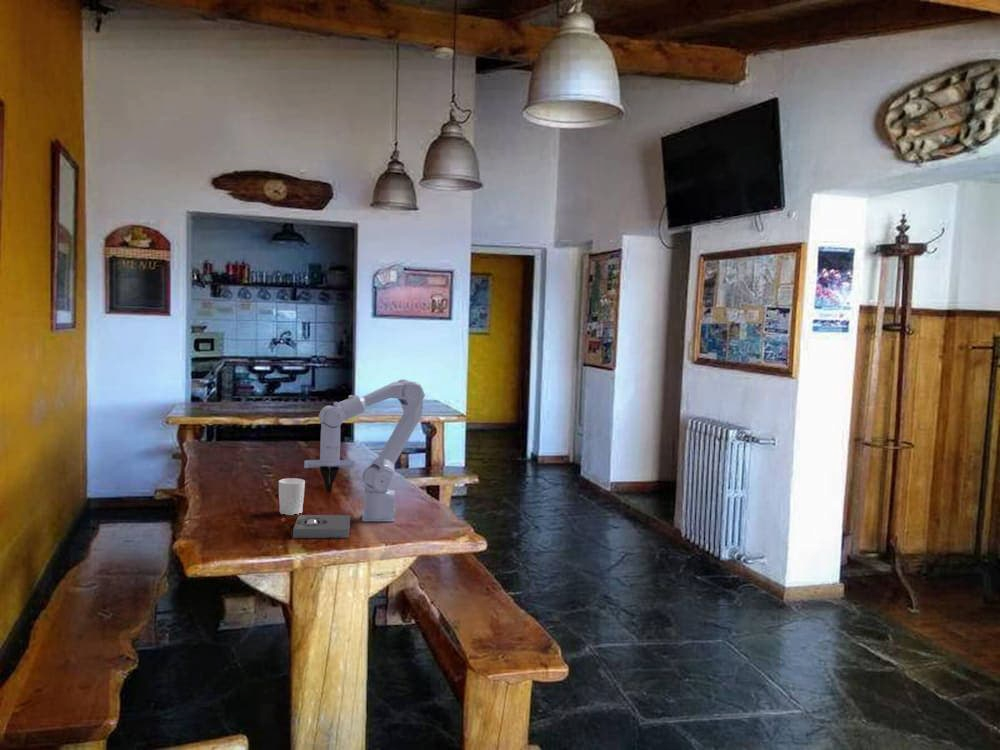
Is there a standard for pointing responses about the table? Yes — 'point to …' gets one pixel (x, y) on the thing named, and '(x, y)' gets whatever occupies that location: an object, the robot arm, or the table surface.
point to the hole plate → (322, 526)
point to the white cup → (291, 495)
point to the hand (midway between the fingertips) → (328, 491)
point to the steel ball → (312, 521)
